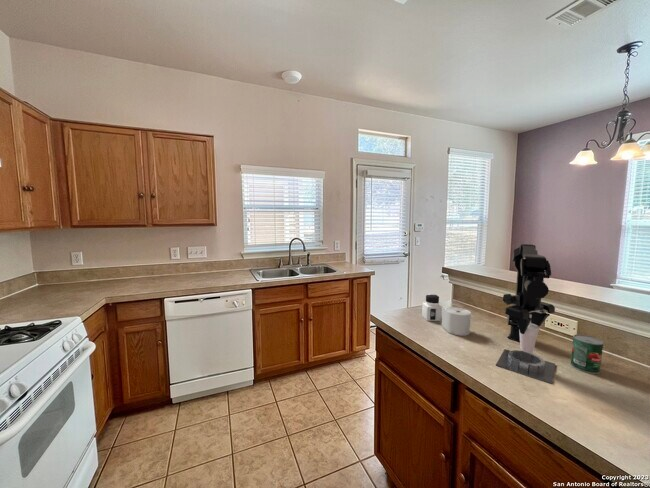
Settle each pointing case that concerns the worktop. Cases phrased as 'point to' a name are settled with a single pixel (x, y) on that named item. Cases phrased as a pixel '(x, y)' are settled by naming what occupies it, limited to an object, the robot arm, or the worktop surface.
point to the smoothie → (529, 337)
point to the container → (432, 308)
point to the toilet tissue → (456, 321)
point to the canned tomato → (586, 354)
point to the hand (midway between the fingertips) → (528, 332)
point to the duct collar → (527, 365)
